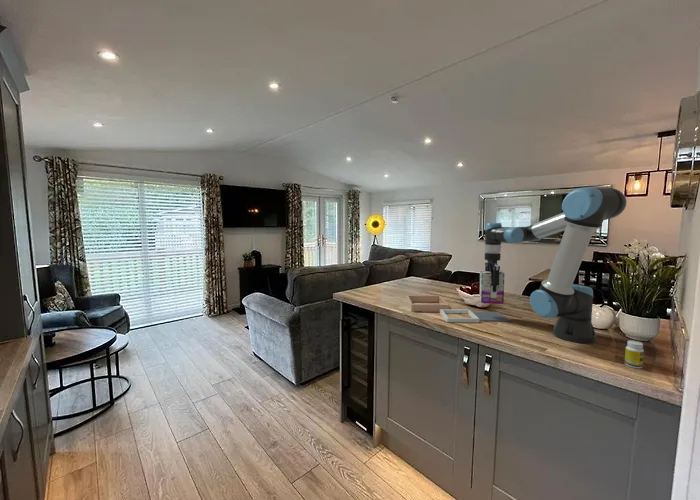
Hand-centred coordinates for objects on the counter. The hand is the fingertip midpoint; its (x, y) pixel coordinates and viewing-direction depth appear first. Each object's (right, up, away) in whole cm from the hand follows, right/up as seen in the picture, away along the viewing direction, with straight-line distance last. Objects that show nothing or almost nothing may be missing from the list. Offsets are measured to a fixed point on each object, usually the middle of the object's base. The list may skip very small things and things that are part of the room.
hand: (491, 296), depth 162 cm
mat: (0, -11, +1) cm, 11 cm away
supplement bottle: (+25, -16, -55) cm, 62 cm away
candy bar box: (0, -4, 0) cm, 4 cm away
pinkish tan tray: (-28, -10, +23) cm, 38 cm away
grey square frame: (-17, -11, +1) cm, 20 cm away
